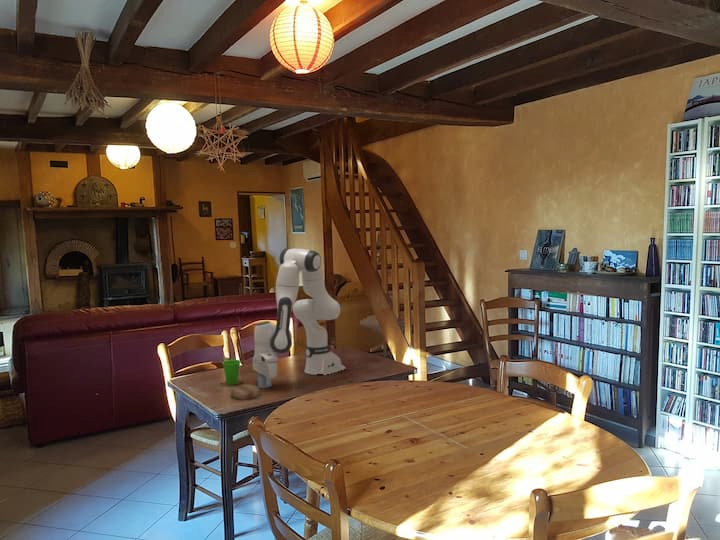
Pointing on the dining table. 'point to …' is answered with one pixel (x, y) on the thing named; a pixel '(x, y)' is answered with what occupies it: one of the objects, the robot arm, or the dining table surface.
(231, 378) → the cup
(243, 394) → the trivet
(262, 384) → the cube
